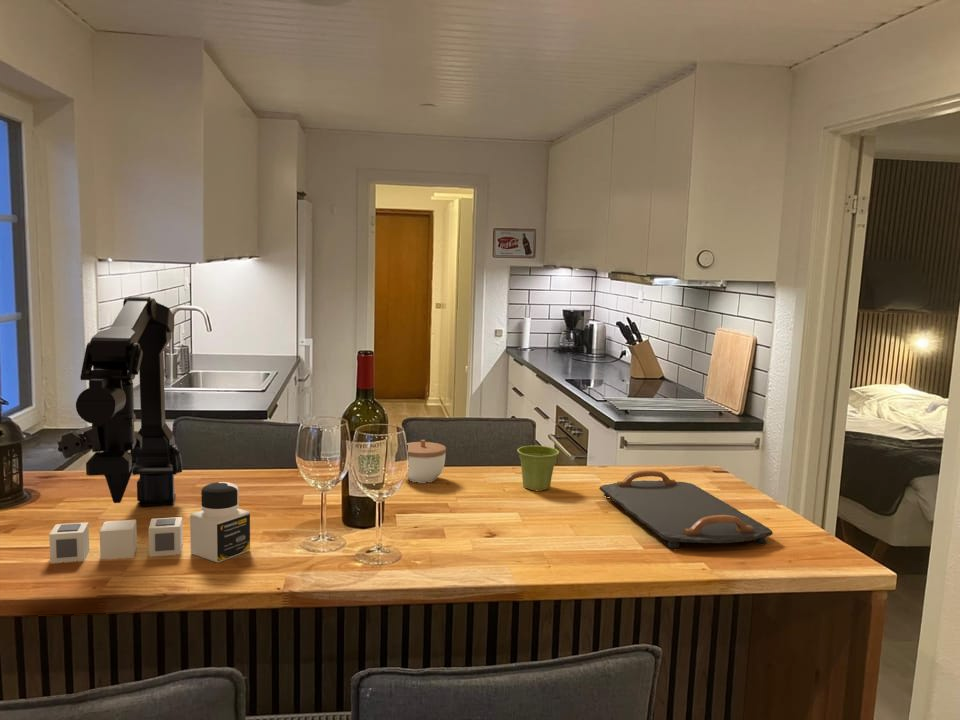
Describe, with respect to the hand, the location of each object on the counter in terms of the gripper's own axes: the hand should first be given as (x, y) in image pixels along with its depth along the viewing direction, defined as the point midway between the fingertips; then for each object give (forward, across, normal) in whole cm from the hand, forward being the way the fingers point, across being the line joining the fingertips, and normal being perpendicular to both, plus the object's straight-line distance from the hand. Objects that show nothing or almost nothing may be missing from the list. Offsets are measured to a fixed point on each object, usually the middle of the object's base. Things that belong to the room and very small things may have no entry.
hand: (117, 502), depth 134 cm
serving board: (+10, +1, +106) cm, 107 cm away
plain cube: (+9, 0, 0) cm, 9 cm away
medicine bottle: (+9, +3, +16) cm, 19 cm away
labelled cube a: (+9, 0, +8) cm, 12 cm away
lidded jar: (+9, -35, +60) cm, 70 cm away
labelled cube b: (+9, 0, -8) cm, 12 cm away
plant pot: (+9, -24, +85) cm, 88 cm away
